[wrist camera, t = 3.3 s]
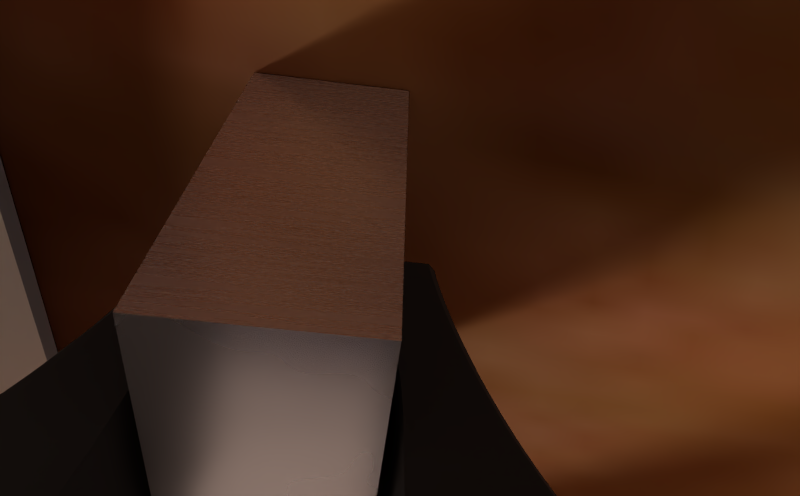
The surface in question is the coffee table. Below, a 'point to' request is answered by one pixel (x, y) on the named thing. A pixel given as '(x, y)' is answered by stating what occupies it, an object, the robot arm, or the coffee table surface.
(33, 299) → the white rectangular slab
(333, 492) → the rectangular block
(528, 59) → the coffee table surface
